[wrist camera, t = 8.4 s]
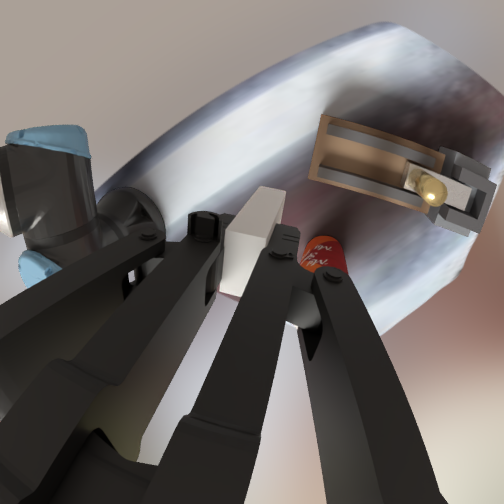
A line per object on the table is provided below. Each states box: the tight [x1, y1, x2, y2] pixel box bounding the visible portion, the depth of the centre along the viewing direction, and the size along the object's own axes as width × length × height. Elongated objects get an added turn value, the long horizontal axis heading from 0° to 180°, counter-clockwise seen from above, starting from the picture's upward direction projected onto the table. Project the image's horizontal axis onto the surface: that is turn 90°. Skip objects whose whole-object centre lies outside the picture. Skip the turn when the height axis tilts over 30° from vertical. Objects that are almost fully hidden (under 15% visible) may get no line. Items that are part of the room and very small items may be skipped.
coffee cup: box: [293, 236, 349, 329], centre depth 37 cm, size 8×8×15 cm
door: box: [308, 114, 445, 214], centre depth 32 cm, size 16×8×8 cm, turn 81°
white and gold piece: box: [400, 161, 472, 211], centre depth 26 cm, size 9×3×8 cm, turn 81°
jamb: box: [424, 146, 497, 237], centre depth 30 cm, size 6×10×9 cm, turn 170°
